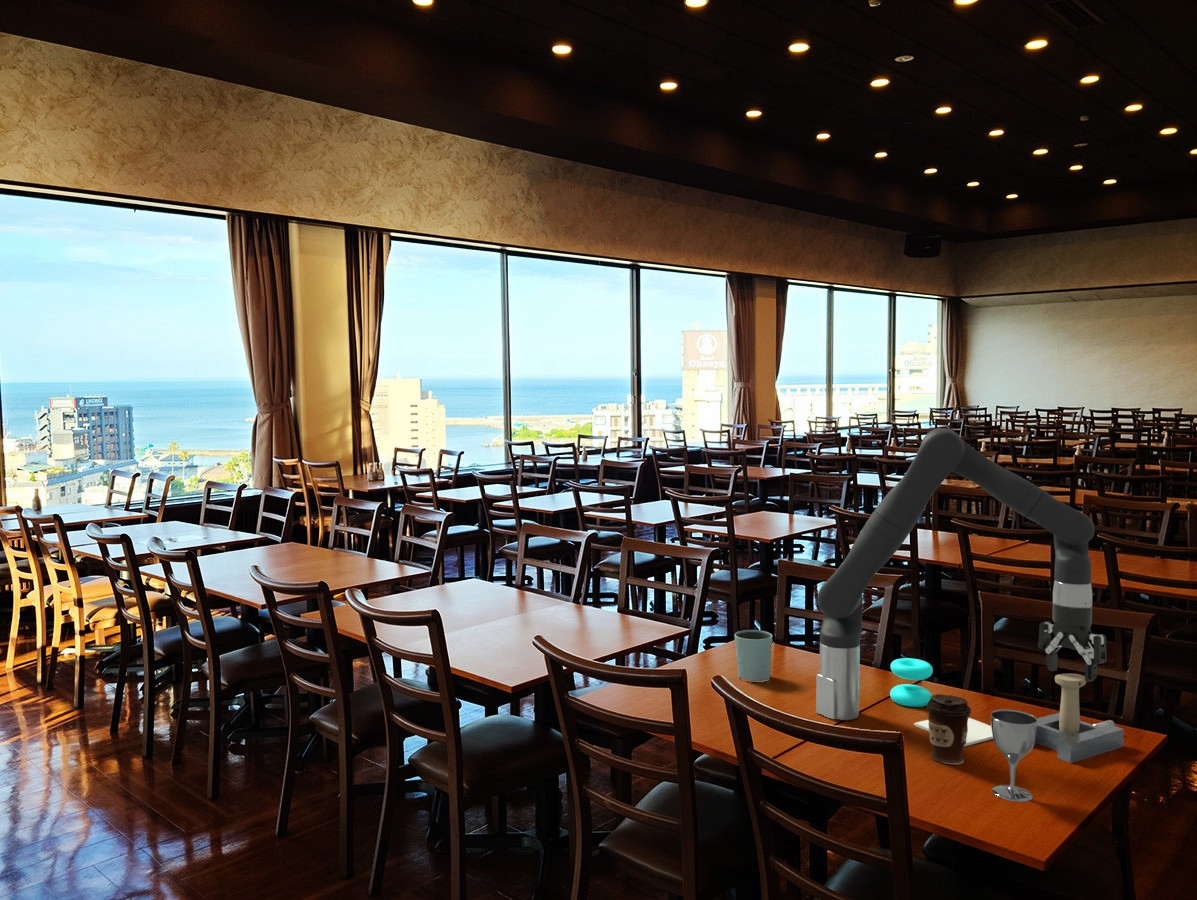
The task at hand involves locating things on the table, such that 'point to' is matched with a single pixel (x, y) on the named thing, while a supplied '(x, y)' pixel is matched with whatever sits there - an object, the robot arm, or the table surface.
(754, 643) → the grey-green tapered cup
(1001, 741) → the wine glass
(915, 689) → the donuts
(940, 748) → the coffee cup
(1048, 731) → the vise
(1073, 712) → the handle
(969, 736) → the mat
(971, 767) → the table surface
